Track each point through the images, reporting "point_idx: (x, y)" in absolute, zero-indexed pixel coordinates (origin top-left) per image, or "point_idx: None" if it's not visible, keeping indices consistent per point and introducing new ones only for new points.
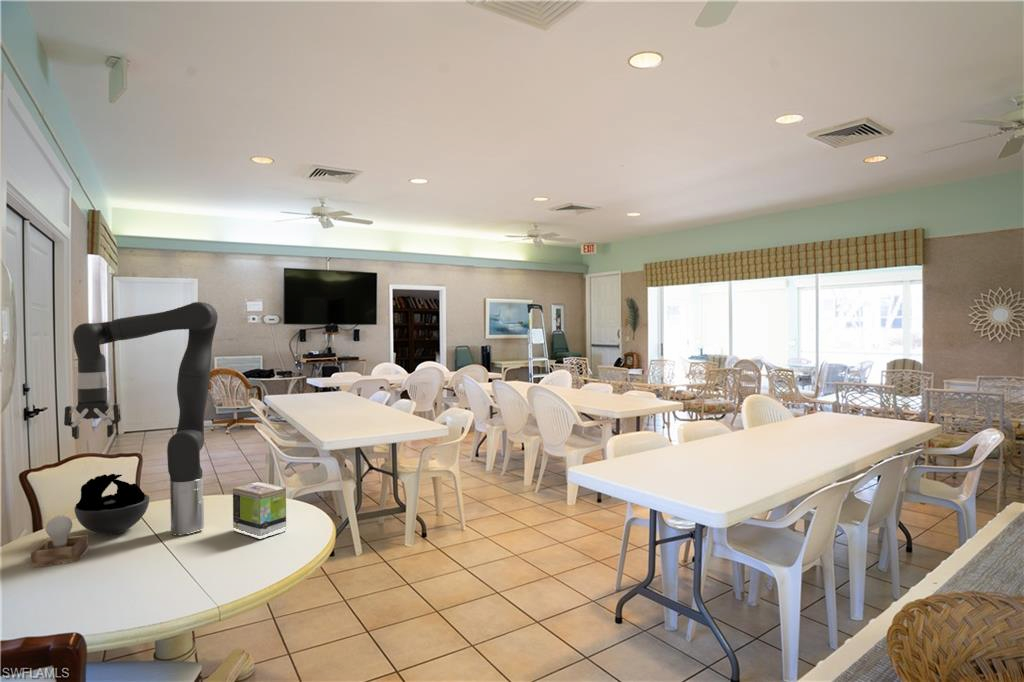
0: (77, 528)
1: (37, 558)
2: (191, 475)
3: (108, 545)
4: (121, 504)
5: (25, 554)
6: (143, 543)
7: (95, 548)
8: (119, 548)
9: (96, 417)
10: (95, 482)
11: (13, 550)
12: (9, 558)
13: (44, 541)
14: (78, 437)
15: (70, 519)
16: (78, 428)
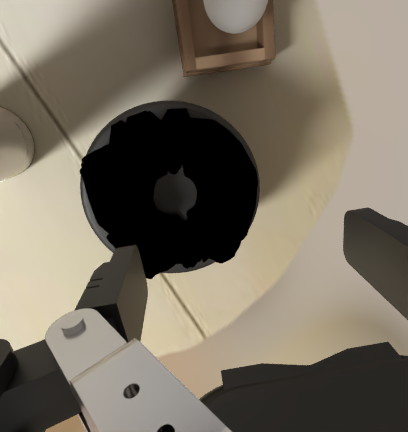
0: (261, 221)
1: None
2: None
3: (145, 81)
4: (124, 142)
5: (304, 68)
6: (65, 72)
7: (166, 66)
8: (108, 48)
9: (246, 385)
10: (218, 203)
11: (337, 105)
12: (328, 49)
13: (271, 44)
14: (347, 245)
15: (211, 2)
16: (397, 292)
